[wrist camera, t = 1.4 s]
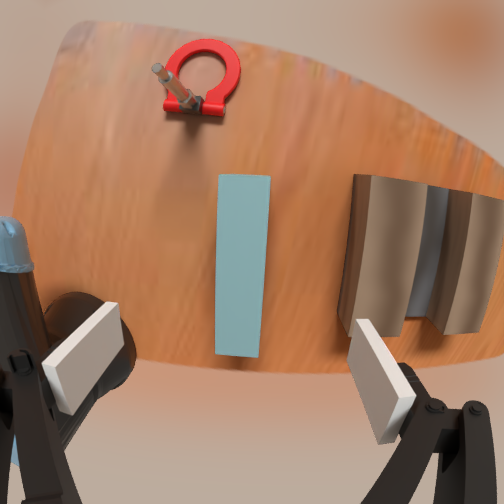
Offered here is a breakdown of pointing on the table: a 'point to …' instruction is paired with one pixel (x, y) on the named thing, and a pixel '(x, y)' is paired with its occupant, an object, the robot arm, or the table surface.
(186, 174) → the table surface
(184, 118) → the table surface
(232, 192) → the teal beam
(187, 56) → the tow hook
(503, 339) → the table surface
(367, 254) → the grey grooved block
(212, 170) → the table surface
